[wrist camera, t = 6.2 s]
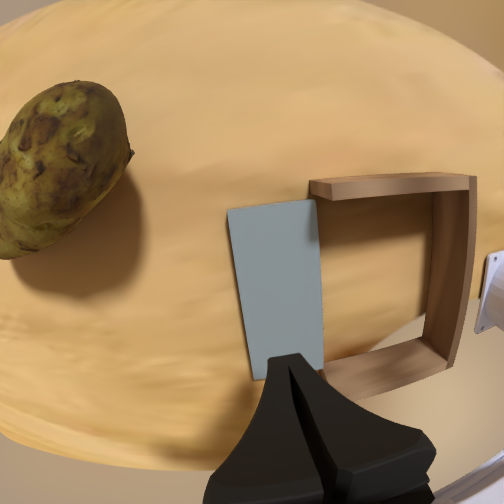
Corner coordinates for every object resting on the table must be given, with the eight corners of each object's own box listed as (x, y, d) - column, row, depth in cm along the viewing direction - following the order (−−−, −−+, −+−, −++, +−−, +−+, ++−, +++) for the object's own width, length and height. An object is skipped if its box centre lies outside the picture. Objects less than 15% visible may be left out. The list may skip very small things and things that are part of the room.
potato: (-1, 144, 14) (-77, 147, 7) (150, 88, 15) (96, 38, 7) (15, 251, 17) (-56, 289, 9) (167, 222, 17) (120, 264, 9)
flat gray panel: (315, 200, 16) (227, 211, 16) (323, 368, 20) (254, 380, 19) (312, 198, 17) (227, 209, 17) (320, 362, 20) (253, 373, 20)
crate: (439, 172, 17) (476, 176, 13) (427, 341, 21) (452, 366, 17) (309, 180, 17) (331, 183, 13) (320, 371, 21) (334, 406, 17)
